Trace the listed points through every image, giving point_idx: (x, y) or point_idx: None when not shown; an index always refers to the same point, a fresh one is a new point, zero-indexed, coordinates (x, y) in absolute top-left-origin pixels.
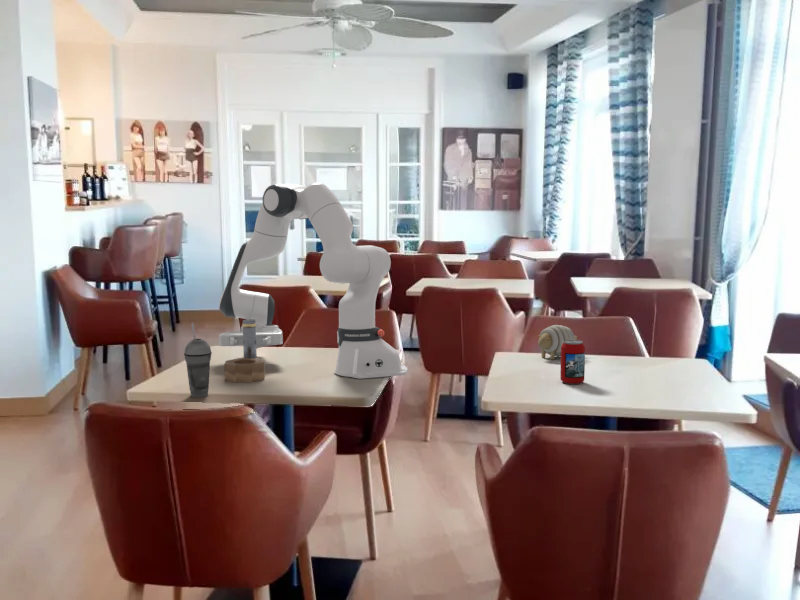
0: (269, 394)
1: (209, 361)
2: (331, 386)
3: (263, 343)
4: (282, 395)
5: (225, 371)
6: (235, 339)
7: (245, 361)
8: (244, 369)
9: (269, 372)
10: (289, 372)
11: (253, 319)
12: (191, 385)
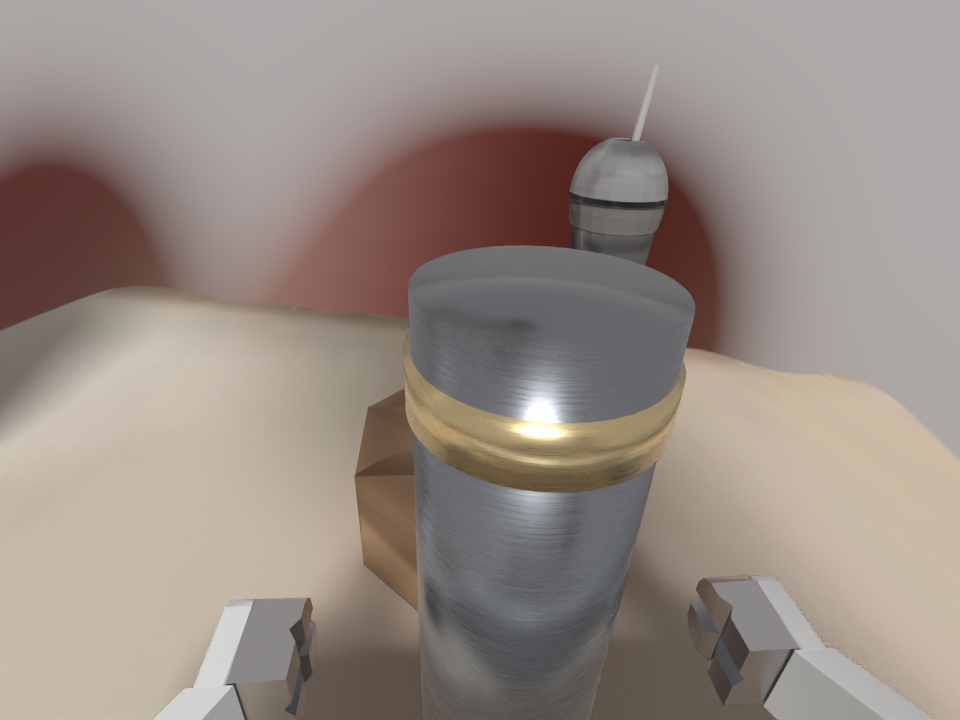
0: (371, 328)
1: (571, 223)
2: (112, 369)
3: (310, 630)
4: (332, 319)
5: None
6: (754, 612)
7: None
8: None
9: (311, 679)
10: (141, 660)
11: (461, 316)
12: None
